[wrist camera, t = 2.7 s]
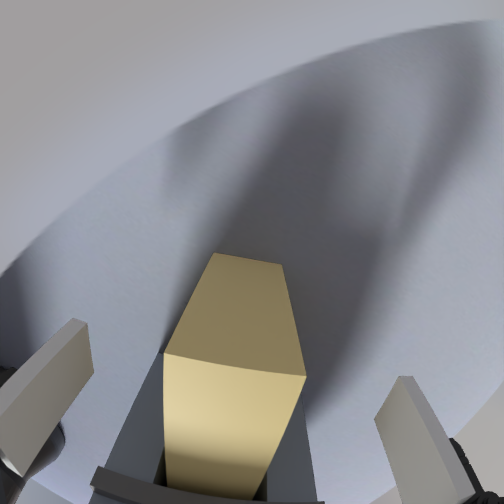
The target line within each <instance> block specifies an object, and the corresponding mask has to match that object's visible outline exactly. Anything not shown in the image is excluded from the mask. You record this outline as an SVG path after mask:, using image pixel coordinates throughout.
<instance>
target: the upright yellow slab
mask: <svg viewBox="0 0 504 504" xmlns="http://www.w3.org/2000/svg"><path fill="white" fill-rule="evenodd" d="M306 377H307V375H306V370H305V366H304V361H303V356H302V352H301V347H300V343H299V338H298V334H297V329H296V325H295V320H294V316H293V311H292V307H291V302H290V298H289V294H288V289H287V285H286V281H285V277H284V272H283V268H282V264H276V263H270V262H265V261H259V260H253V259H248V258H242V257H236V256H231V255H225V254H220V253H213V255H212V257H211V259H210V260H209V262H208V264H207V266H206V268H205V270H204V272H203V274H202V276H201V278H200V280H199V282H198V284H197V286H196V288H195V290H194V292H193V294H192V296H191V298H190V300H189V302H188V304H187V306H186V308H185V310H184V312H183V314H182V316H181V318H180V320H179V322H178V324H177V327H176V329H175V331H174V333H173V335H172V337H171V339H170V341H169V343H168V345H167V347H166V349H165V352H164V371H163V407H164V441H165V460H166V475H167V487H168V488H172V489H176V490H181V491H186V492H191V493H196V494H202V495H208V496H214V497H221V498H229V499H238V500H249V501H252V499H253V497H254V495H255V493H256V491H257V489H258V487H259V485H260V483H261V481H262V479H263V477H264V475H265V473H266V471H267V469H268V467H269V465H270V463H271V460H272V458H273V456H274V454H275V452H276V450H277V447H278V445H279V443H280V441H281V438H282V436H283V434H284V432H285V429H286V427H287V424H288V422H289V420H290V417H291V415H292V413H293V410H294V408H295V405H296V403H297V400H298V398H299V395H300V393H301V390H302V387H303V385H304V382H305V379H306Z"/></svg>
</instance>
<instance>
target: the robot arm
mask: <svg viewBox="0 0 504 504" xmlns="http://www.w3.org/2000/svg"><path fill="white" fill-rule="evenodd" d="M93 373H94V369H93V363H92V357H91V350H90V343H89V335H88V326H87V323H86V322H83V321H80V320H77V319H74V318H72V319H71V320H70V321H69V322H68V323H67V324H65V325H64V326H63V327H62V328H61V329H60V330H59V331H58V332H57V333H56V334H55V335H54V336H52V337H51V338H50V339H49V340H48V341H47V342H46V343H45V344H44V345H43V346H42V347H41V348H40V349H39V350H38V351H37V352H36V353H35V354H34V355H32V356H31V357H30V358H29V359H28V360H27V361H26V362H25V363H24V364H23V365H22V366H21V367H20V368H19V369H18V370H17V369H15V368H13V367H12V368H10V369H7V370H5V369H3V368H2V367H0V504H15V503H16V501H17V499H18V497H19V495H20V493H21V491H22V489H23V488H24V486H25V484H26V482H27V481H28V480H29V479H30V478H31V477H32V476H34V475H35V474H37V473H38V472H39V471H41V470H42V469H44V468H45V467H46V466H48V465H49V464H50V463H51V462H53V461H54V460H56V459H57V458H58V456H59V455H60V453H61V451H62V449H63V448H64V445H65V441H64V437H63V434H62V432H61V430H60V428H59V427H58V425H57V424H58V422H59V421H60V420H61V418H62V417H63V415H64V414H65V412H66V411H67V409H68V408H69V407H70V405H71V404H72V402H73V401H74V400H75V398H76V397H77V395H78V394H79V392H80V391H81V390H82V388H83V387H84V386H85V384H86V383H87V381H88V380H89V379H90V377H91V376H92V375H93ZM374 420H375V423H376V426H377V429H378V431H379V434H380V437H381V440H382V443H383V446H384V448H385V451H386V454H387V457H388V460H389V463H390V466H391V469H392V472H393V475H394V478H395V481H396V484H397V487H398V491H399V494H400V497H401V500H402V504H504V497H499V496H498V495H497V494H496V493H494V492H490V491H487V492H485V491H484V490H483V489H482V486H481V484H480V482H479V481H478V478H477V476H476V474H475V472H474V470H473V468H472V466H471V464H469V461H468V459H467V457H465V453H464V451H463V449H462V448H461V446H460V445H459V444H458V443H457V442H456V441H455V440H454V439H453V438H448V437H447V435H446V433H445V431H444V429H443V427H442V426H441V424H440V422H439V420H438V418H437V417H436V415H435V413H434V411H433V410H432V408H431V406H430V404H429V403H428V401H427V399H426V398H425V396H424V394H423V392H422V391H421V389H420V387H419V386H418V384H417V382H416V381H415V379H414V377H413V376H399V377H398V379H397V380H396V382H395V384H394V386H393V388H392V390H391V391H390V393H389V395H388V397H387V398H386V400H385V402H384V403H383V405H382V407H381V408H380V410H379V412H378V413H377V415H376V417H375V418H374Z"/></svg>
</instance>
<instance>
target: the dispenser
mask: <svg viewBox="0 0 504 504" xmlns="http://www.w3.org/2000/svg"><path fill="white" fill-rule="evenodd" d="M163 371H164V354H161V353H158V354H157V356H156V358H155V360H154V362H153V364H152V366H151V368H150V370H149V372H148V374H147V376H146V378H145V380H144V382H143V385H142V387H141V389H140V391H139V393H138V395H137V397H136V399H135V401H134V403H133V405H132V407H131V410H130V412H129V414H128V416H127V418H126V420H125V422H124V425H123V427H122V429H121V431H120V433H119V435H118V438H117V440H116V442H115V444H114V446H113V449H112V451H111V453H110V455H109V458H108V460H107V462H106V464H105V467H104V468H103V467H100V466H98V467H97V469H96V472H95V474H94V476H93V478H92V481H91V483H90V487H91V488H92V490H93V495H92V497H91V499H90V502H89V504H325V502H324V501H321V502H318V501H317V494H316V487H315V480H314V473H313V466H312V460H311V453H310V447H309V440H308V434H307V428H306V421H305V415H304V409H303V403H302V397H301V393H300V395H299V398H298V400H297V403H296V405H295V408H294V410H293V413H292V415H291V417H290V420H289V422H288V424H287V427H286V429H285V432H284V434H283V436H282V438H281V441H280V443H279V445H278V447H277V450H276V452H275V454H274V456H273V458H272V460H271V463H270V465H269V467H268V469H267V471H266V473H265V475H264V477H263V479H262V481H261V483H260V485H259V487H258V489H257V491H256V493H255V495H254V497H253V499H252V501H249V500H238V499H229V498H221V497H214V496H208V495H202V494H196V493H191V492H186V491H181V490H176V489H172V488H168V487H167V475H166V460H165V441H164V407H163Z"/></svg>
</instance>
